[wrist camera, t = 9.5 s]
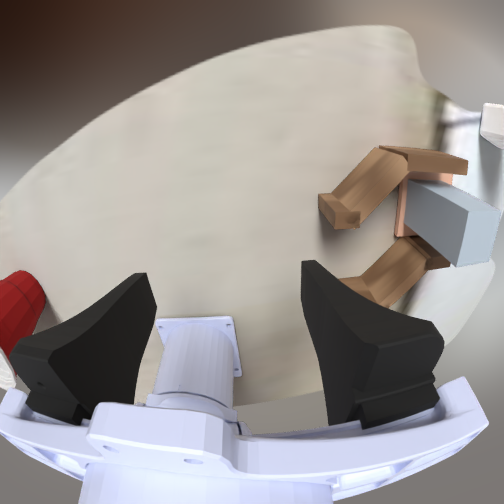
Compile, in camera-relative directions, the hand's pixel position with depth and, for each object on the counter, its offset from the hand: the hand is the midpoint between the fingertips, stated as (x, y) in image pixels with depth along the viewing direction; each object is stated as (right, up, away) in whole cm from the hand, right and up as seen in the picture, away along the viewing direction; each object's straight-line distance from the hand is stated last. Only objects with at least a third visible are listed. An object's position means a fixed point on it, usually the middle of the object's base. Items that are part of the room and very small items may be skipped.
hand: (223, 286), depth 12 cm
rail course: (+12, +4, +10) cm, 16 cm away
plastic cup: (-26, -3, +13) cm, 29 cm away
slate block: (+17, +6, +8) cm, 20 cm away
